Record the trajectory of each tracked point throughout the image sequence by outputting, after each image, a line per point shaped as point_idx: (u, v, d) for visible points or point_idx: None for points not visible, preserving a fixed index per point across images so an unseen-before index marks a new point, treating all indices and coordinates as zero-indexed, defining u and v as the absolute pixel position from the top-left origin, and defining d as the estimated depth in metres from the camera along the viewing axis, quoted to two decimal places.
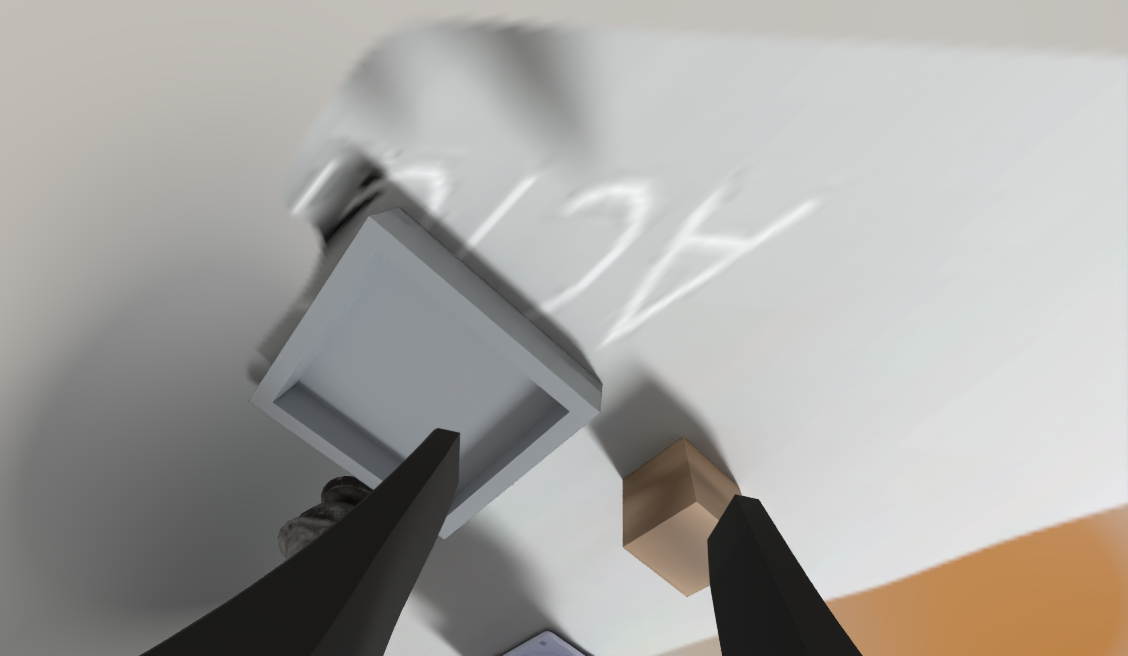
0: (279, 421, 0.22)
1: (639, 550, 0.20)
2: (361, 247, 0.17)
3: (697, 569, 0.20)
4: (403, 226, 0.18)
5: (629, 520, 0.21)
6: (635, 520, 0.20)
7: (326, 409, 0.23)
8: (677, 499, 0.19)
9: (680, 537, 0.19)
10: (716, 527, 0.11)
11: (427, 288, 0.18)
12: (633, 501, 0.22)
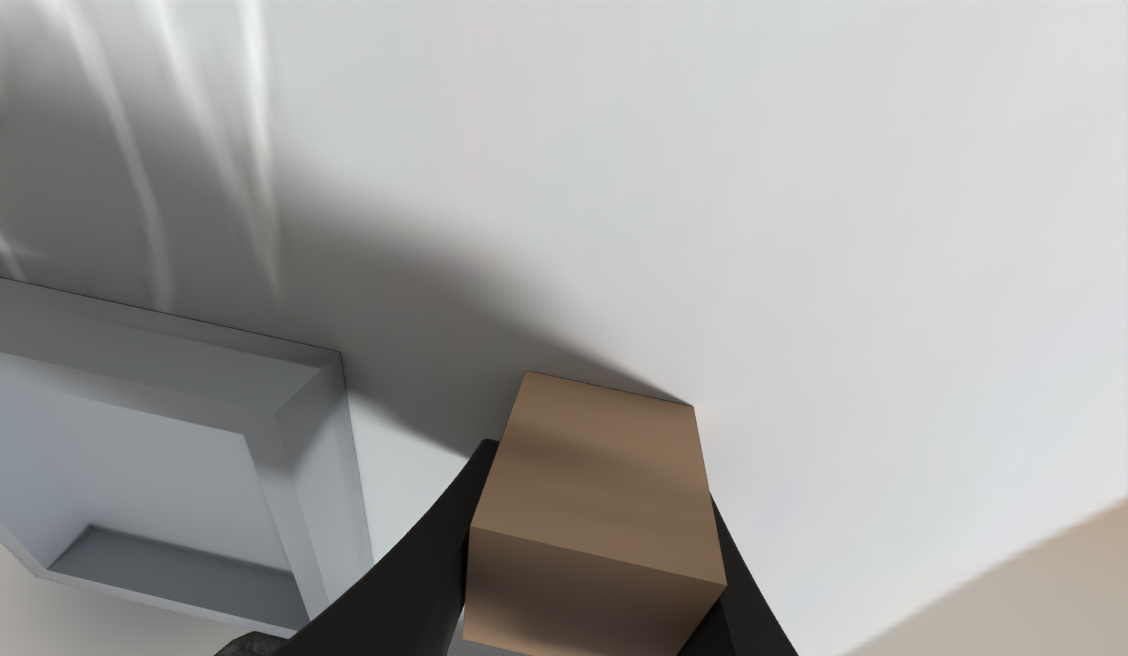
0: (76, 586, 0.17)
1: (490, 636, 0.09)
2: None
3: (619, 639, 0.09)
4: None
5: None
6: None
7: (138, 543, 0.17)
8: None
9: (525, 597, 0.08)
10: None
11: None
12: None
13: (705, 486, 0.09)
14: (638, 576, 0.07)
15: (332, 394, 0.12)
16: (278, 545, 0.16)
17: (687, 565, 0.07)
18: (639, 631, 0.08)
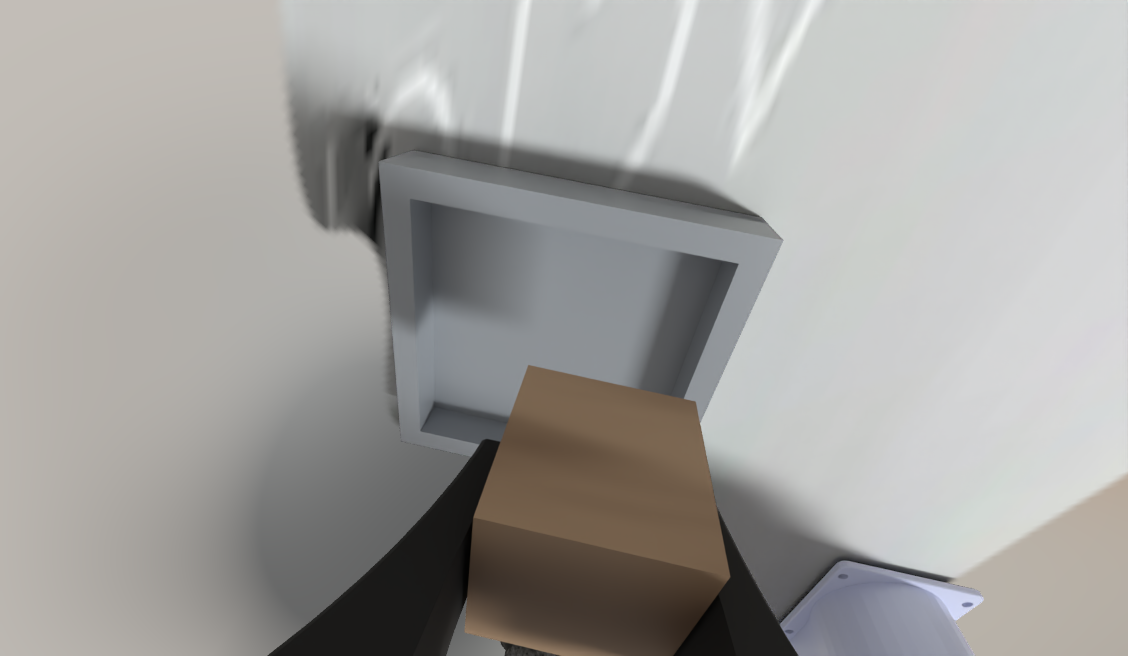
0: (437, 447, 0.20)
1: (493, 630, 0.09)
2: (394, 206, 0.14)
3: (622, 632, 0.09)
4: (424, 160, 0.14)
5: None
6: None
7: (474, 417, 0.21)
8: None
9: (527, 590, 0.08)
10: None
11: (484, 208, 0.14)
12: None
13: (708, 479, 0.09)
14: (642, 567, 0.07)
15: None
16: None
17: (690, 557, 0.07)
18: (641, 624, 0.08)
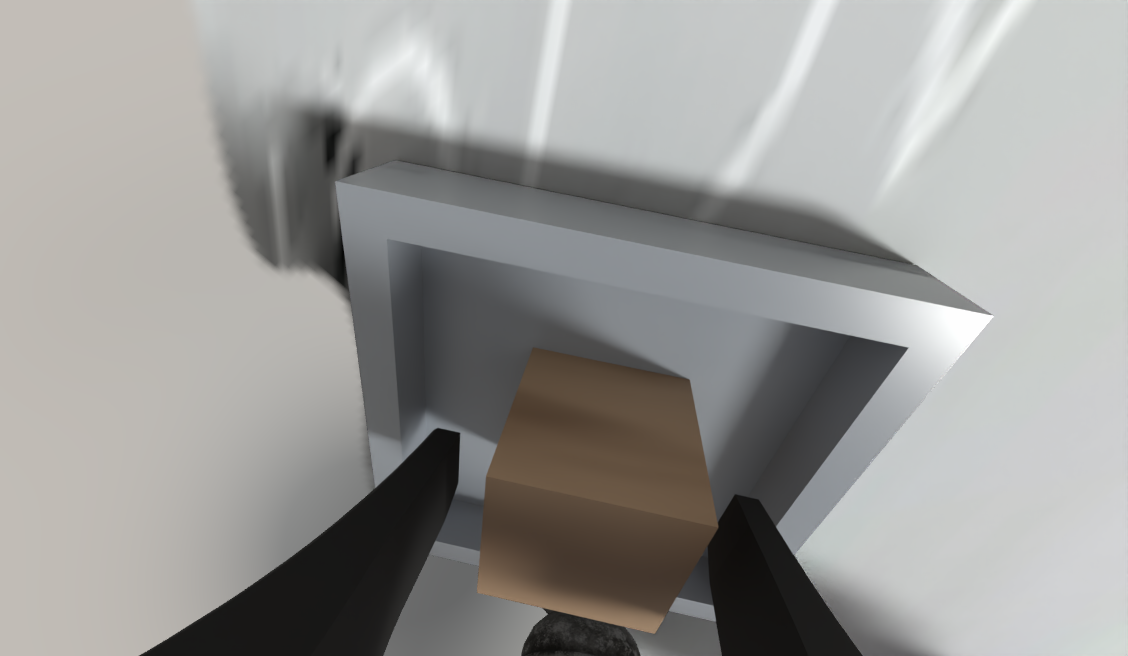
0: (430, 553, 0.15)
1: (503, 589, 0.10)
2: (362, 250, 0.09)
3: (622, 587, 0.09)
4: (410, 177, 0.09)
5: None
6: None
7: (479, 508, 0.16)
8: None
9: (535, 547, 0.09)
10: None
11: (504, 255, 0.09)
12: None
13: (699, 446, 0.09)
14: (638, 520, 0.08)
15: None
16: None
17: (682, 511, 0.08)
18: (639, 578, 0.09)
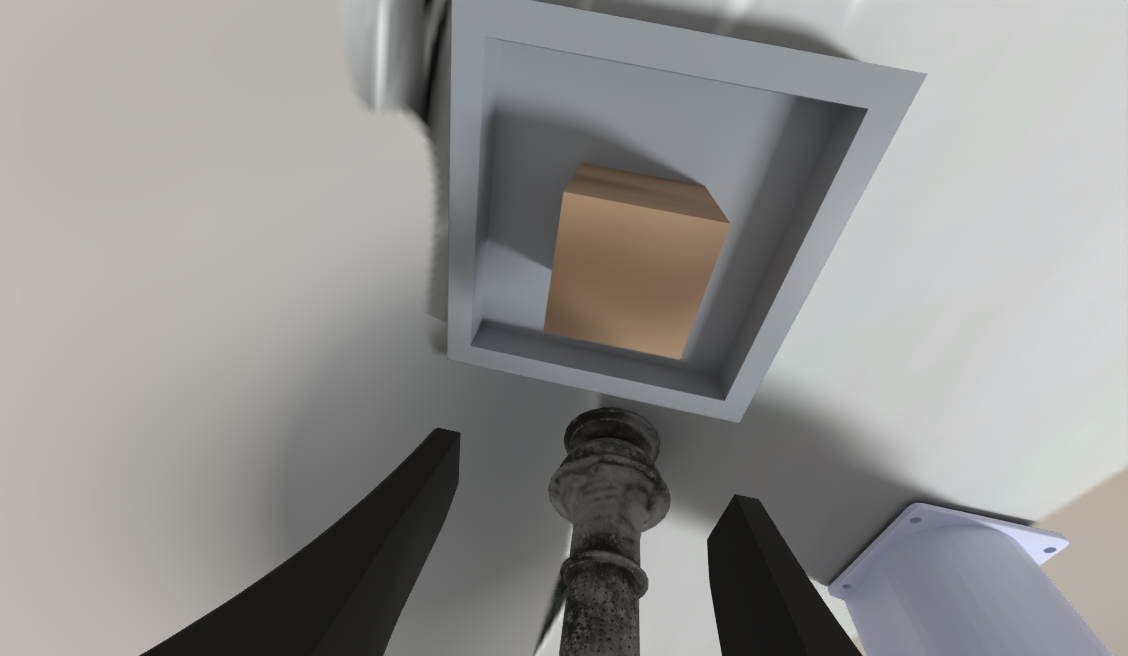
0: (487, 365, 0.18)
1: (564, 323, 0.13)
2: (465, 47, 0.12)
3: (657, 305, 0.12)
4: None
5: None
6: None
7: (526, 336, 0.19)
8: None
9: (593, 268, 0.12)
10: (716, 527, 0.11)
11: (572, 45, 0.12)
12: None
13: (715, 203, 0.13)
14: (673, 225, 0.11)
15: None
16: None
17: (704, 217, 0.11)
18: (670, 291, 0.12)
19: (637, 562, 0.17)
